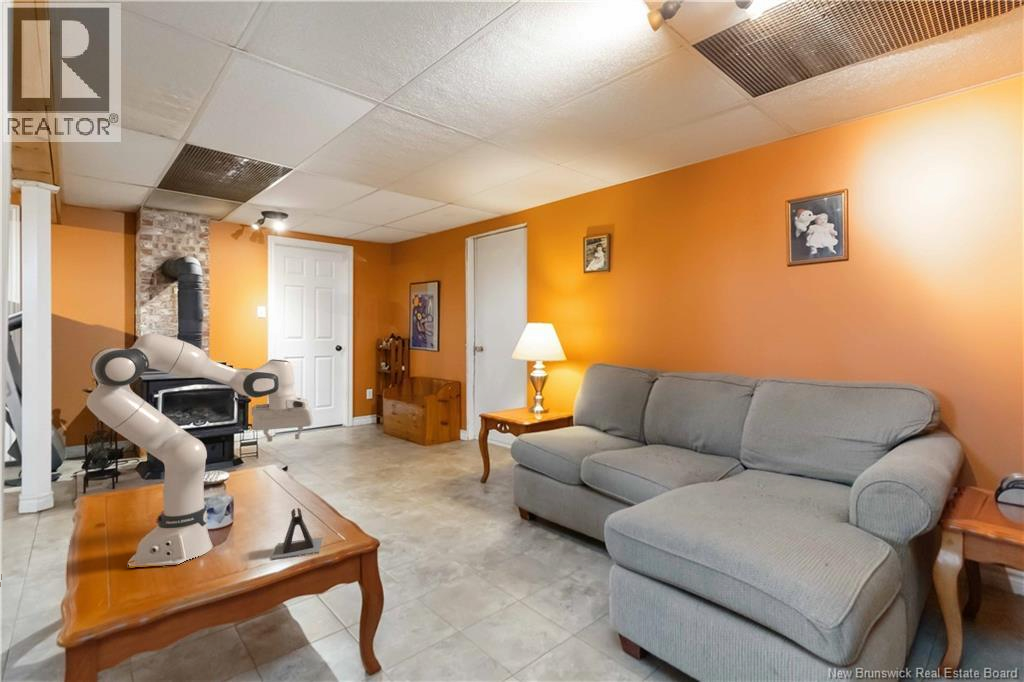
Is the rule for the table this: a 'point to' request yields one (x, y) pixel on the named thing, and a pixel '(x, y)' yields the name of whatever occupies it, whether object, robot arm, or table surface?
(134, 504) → the table surface
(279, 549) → the mat
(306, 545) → the black triangular stand
